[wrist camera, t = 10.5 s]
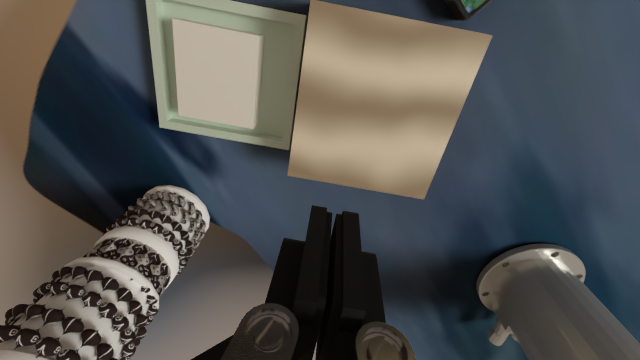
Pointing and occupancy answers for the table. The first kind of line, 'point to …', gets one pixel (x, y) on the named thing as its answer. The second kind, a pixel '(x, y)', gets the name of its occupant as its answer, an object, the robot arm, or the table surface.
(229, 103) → the cream tile
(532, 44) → the table surface
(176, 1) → the sage tray
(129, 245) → the decorative candle
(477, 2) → the disk drive
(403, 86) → the board
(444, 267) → the table surface
